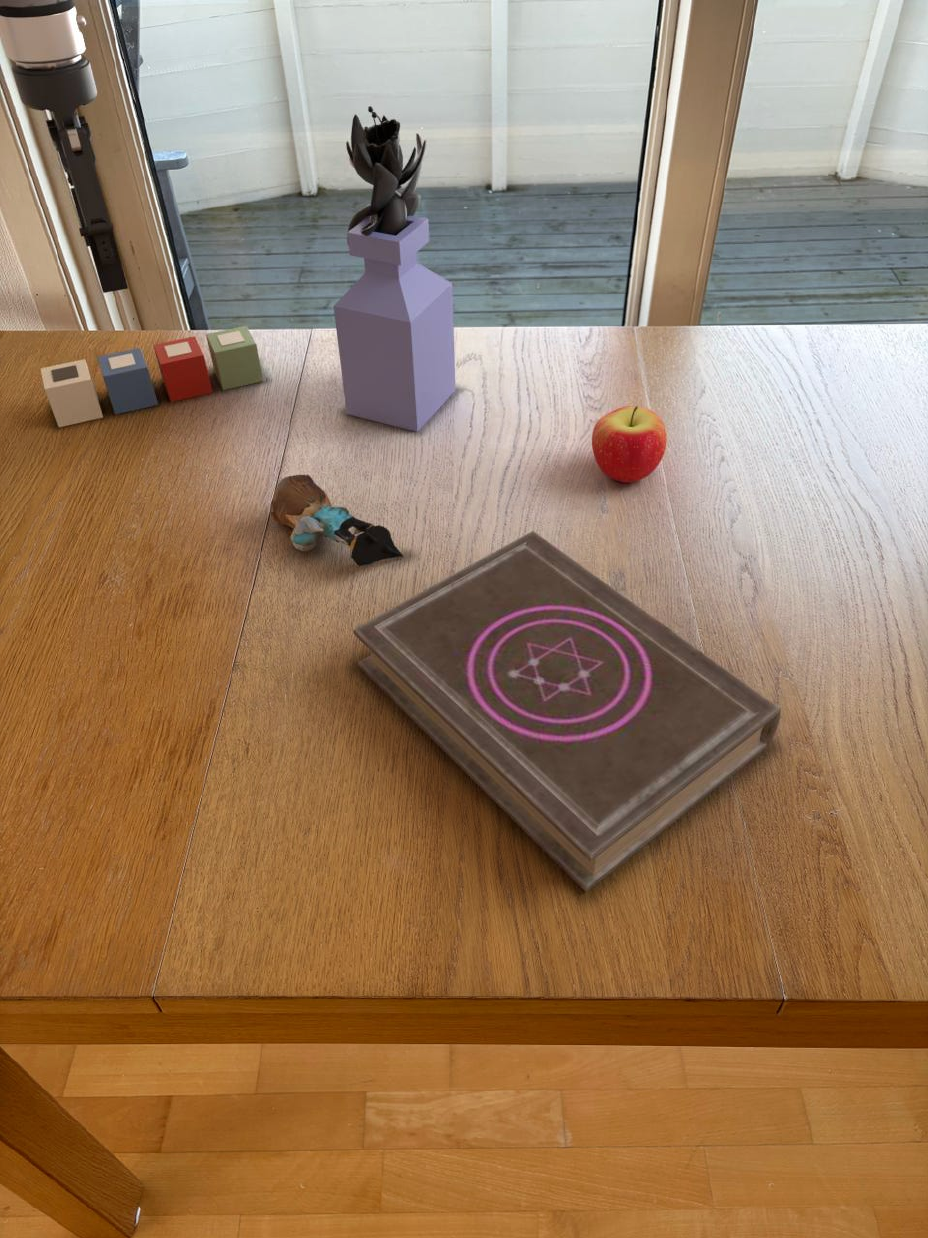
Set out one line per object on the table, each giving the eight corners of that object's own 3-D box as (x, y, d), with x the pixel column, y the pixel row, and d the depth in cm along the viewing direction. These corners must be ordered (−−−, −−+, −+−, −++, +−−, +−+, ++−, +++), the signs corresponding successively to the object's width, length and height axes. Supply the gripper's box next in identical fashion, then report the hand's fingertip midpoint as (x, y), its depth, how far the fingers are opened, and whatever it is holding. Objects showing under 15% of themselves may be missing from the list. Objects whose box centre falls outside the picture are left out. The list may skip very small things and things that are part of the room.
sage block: (222, 390, 125) (214, 351, 121) (214, 371, 129) (205, 333, 125) (263, 381, 127) (256, 342, 123) (253, 362, 130) (246, 324, 126)
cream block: (58, 427, 120) (44, 388, 116) (54, 406, 123) (39, 367, 120) (103, 417, 121) (90, 378, 117) (97, 396, 125) (84, 358, 121)
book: (358, 666, 89) (352, 629, 86) (535, 565, 99) (536, 527, 95) (586, 893, 72) (591, 857, 68) (772, 743, 82) (785, 705, 78)
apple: (594, 497, 107) (601, 420, 100) (584, 454, 113) (590, 379, 106) (667, 494, 107) (679, 418, 100) (653, 451, 113) (664, 376, 106)
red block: (170, 402, 124) (160, 363, 120) (163, 382, 127) (152, 343, 123) (212, 392, 125) (203, 354, 121) (204, 373, 129) (194, 335, 125)
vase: (389, 361, 130) (365, 76, 105) (465, 379, 126) (458, 87, 101) (335, 414, 121) (294, 114, 96) (415, 434, 117) (394, 128, 92)
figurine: (309, 499, 108) (301, 454, 104) (405, 557, 100) (401, 512, 96) (257, 530, 104) (247, 485, 100) (353, 594, 96) (346, 548, 92)
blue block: (115, 414, 122) (102, 375, 118) (109, 394, 125) (96, 355, 121) (158, 405, 123) (147, 366, 119) (151, 384, 127) (140, 346, 123)
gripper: (105, 86, 88) (158, 304, 103) (72, 26, 104) (122, 221, 119) (20, 96, 86) (87, 317, 100) (0, 33, 102) (60, 231, 117)
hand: (106, 265), depth 110 cm, fingers open, 13 cm apart
